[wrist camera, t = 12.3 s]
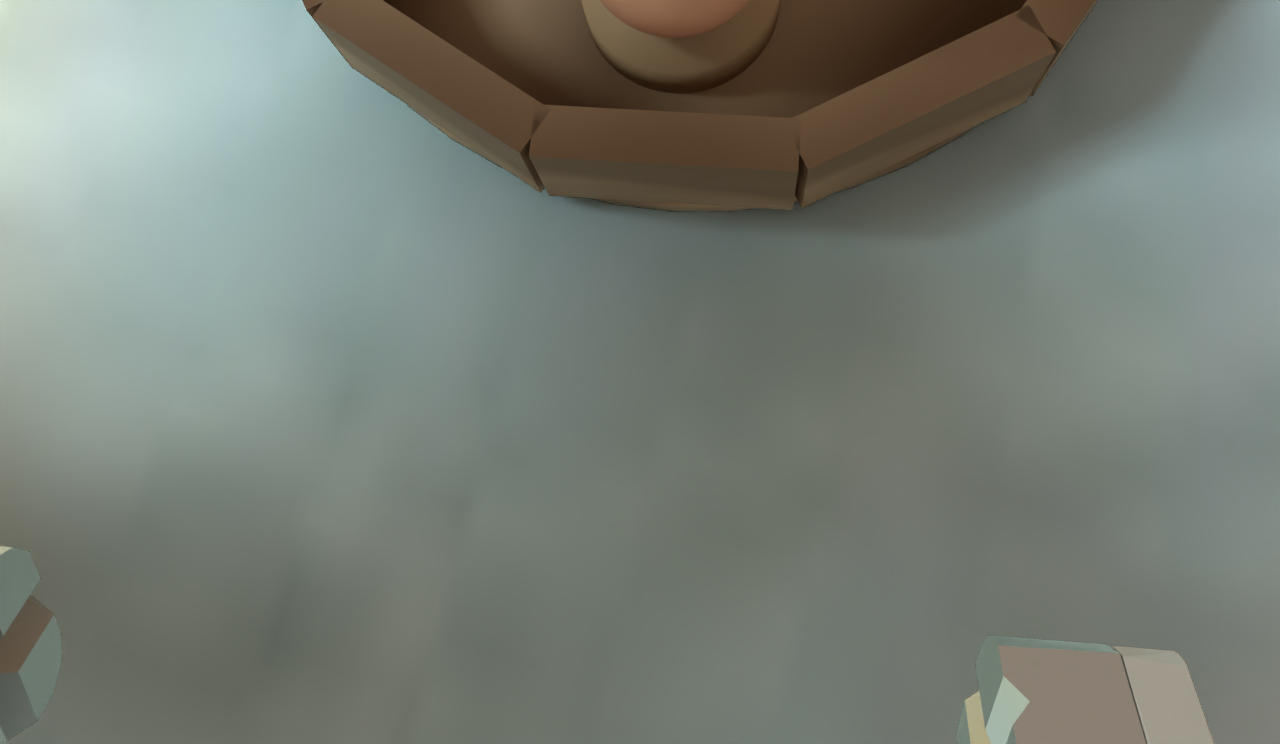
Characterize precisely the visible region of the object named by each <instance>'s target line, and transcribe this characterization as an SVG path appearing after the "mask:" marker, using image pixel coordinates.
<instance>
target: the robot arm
mask: <svg viewBox="0 0 1280 744" xmlns="http://www.w3.org/2000/svg"><path fill="white" fill-rule="evenodd" d="M40 579H41V578H40V575H39V573H38V571H37V568H36V566H35V564H34V561H33V559H32V557H31V554H30V552H29V551H26V550H22V549H18V548H13V547H5V546H0V744H7V741H8V740H9V739H11V738H12V737H14V736H15V735H17V734H18V733H20V732H21V731H23V730H24V729H26V728H27V727H29V726H30V725H32V724H33V723H35V722H36V721H38V719H39V717H40V715H41V714H42V712H43V710H44V708H45V707H46V705H47V703H48V701H49V699H50V698H51V696H52V694H53V692H54V689H55V685H56V681H57V677H58V673H59V669H60V665H61V661H62V646H61V633H60V630H59V627H58V624H57V621H56V618H55V616H54V614H53V613H52V612H51V611H49V610H48V609H47V608H46V607H45V606H43V605H42V604H41V603H40V602H39V601H37V600H36V599H35V598H34V597H33V596H31V595H30V594H31V593H32V591H33V590H34V588H35V587H36V585H37V584H38V582H39V581H40ZM975 667H976V673H977V680H978V686H979V691H978V692H976V693H975V694H973V695H972V696H970V697H969V698H967V699H966V700H965V701H964V705H963V709H962V713H961V716H960V720H959V724H958V730H957V741H956V744H1214V741H1213V738H1212V735H1211V732H1210V729H1209V727H1208V724H1207V721H1206V718H1205V715H1204V712H1203V710H1202V707H1201V704H1200V701H1199V698H1198V695H1197V693H1196V690H1195V687H1194V684H1193V681H1192V678H1191V676H1190V673H1189V670H1188V667H1187V664H1186V662H1185V660H1184V659H1183V658H1182V657H1181V656H1180V655H1179V654H1178V653H1177V652H1176V651H1169V650H1158V649H1146V648H1134V647H1123V646H1111V647H1109V646H1108V645H1106V644H1094V643H1081V642H1069V641H1056V640H1044V639H1031V638H1019V637H1006V636H994V635H989V636H988V637H987V638H986V640H985V641H984V642H983V644H982V645H981V649H980V652H979V655H978V658H977V661H976V664H975Z"/></svg>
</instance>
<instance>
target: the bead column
mask: <svg viewBox="0 0 1280 744" xmlns="http://www.w3.org/2000/svg"><path fill="white" fill-rule="evenodd" d="M581 1H582V5H583V9H584V13H585V16H586V20H587V23H588V27H589V30H590V33H591V36H592V38H593V40H594V43H595V45H596V46H597V48H598V50H599V51H600V53H601V54H602V56H603V57H604V58H605V60H606V61H607V62H608V63H609V64H610V65H611V66H612V67H613V68H614V69H615V70H616V71H617V72H619V73H620V74H621V75H623V76H624V77H625V78H627V79H629V80H630V81H632V82H634V83H636V84H638V85H640V86H643V87H646V88H648V89H651V90H656V91H660V92H666V93H693V92H700V91H704V90H708V89H711V88H714V87H717V86H719V85H722V84H724V83H726V82H728V81H730V80H731V79H733V78H735V77H737V76H738V75H739V74H741V73H742V72H743V71H745V70H746V69H747V68H748V67H749V66H750V65H751V64H752V63H753V62H754V61H755V60H756V59H757V58H758V57H759V56H760V54H761V53H762V52H763V51H764V49H765V47H766V46H767V44H768V42H769V41H770V39H771V36H772V34H773V32H774V30H775V26H776V23H777V19H778V15H779V8H780V0H581Z"/></svg>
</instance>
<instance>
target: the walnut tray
mask: <svg viewBox="0 0 1280 744" xmlns="http://www.w3.org/2000/svg"><path fill="white" fill-rule="evenodd" d="M302 1H303V3H304V5H305V8H306V10H307V11H308V12H309V14H310V15H311V16H312V18H313V19H314V20H315V21H316V23H317V24H318V25H319V27H320V28H321V29H322V30H323V32H324V33H325V34H326V36H327V37H328V38H329V39H330V41H331V42H332V43H333V44H334V46H335V47H336V48H337V50H338V51H339V52H340V53H341V55H342V56H343V57H344V59H345V60H346V61H347V62H348V63H349V64H350V66H351V67H352V68H353V69H355V70H356V71H358V72H359V73H361V74H362V75H364V76H365V77H367V78H368V79H370V80H371V81H373V82H374V83H376V84H377V85H379V86H380V87H382V88H384V89H385V90H387V91H388V92H390V93H391V94H393V95H394V96H396V97H397V98H399V99H400V100H402V101H403V102H405V103H406V104H407V105H408V106H409V107H410V108H412V109H413V110H414V111H416V112H417V113H418V114H419V115H421V116H422V117H423V118H425V119H426V120H427V121H429V122H430V123H431V124H432V125H434V126H435V127H436V128H438V129H439V130H440V131H442V132H443V133H444V134H446V135H447V136H448V137H449V138H451V139H452V140H454V141H456V142H457V143H459V144H461V145H463V146H464V147H466V148H468V149H470V150H471V151H473V152H475V153H477V154H478V155H480V156H482V157H484V158H485V159H487V160H489V161H491V162H492V163H494V164H496V165H498V166H500V167H501V168H504V169H506V170H507V171H509V172H510V173H512V174H513V175H515V176H516V177H518V178H519V179H521V180H522V181H524V182H525V183H527V184H528V185H530V186H531V187H533V188H534V189H536V190H537V191H539V192H540V193H541V192H542V190H543V189H544V187H545V188H546V190H547V192H548V194H549V196H566V197H582V198H591V199H595V200H599V201H603V202H606V203H610V204H617V205H625V206H633V207H641V208H649V209H657V210H665V211H738V210H745V209H753V208H764V209H781V210H793V204H794V203H796V202H799V204H800V206H801V208H804V207H806V206H808V205H810V204H812V203H814V202H816V201H818V200H820V199H823V198H825V197H827V196H829V195H831V194H833V193H835V192H838V191H842V190H846V189H850V188H853V187H856V186H858V185H861V184H863V183H866V182H868V181H871V180H873V179H876V178H878V177H881V176H883V175H886V174H888V173H891V172H893V171H896V170H898V169H901V168H903V167H906V166H908V165H910V164H912V163H914V162H916V161H918V160H919V159H921V158H923V157H925V156H927V155H928V154H930V153H932V152H934V151H936V150H937V149H939V148H941V147H943V146H945V145H946V144H948V143H950V142H952V141H954V140H955V139H957V138H959V137H961V136H962V135H964V134H965V133H967V132H968V131H969V130H971V129H972V128H973V127H975V126H976V125H978V124H980V123H982V122H984V121H987V120H989V119H991V118H993V117H995V116H997V115H999V114H1001V113H1003V112H1005V111H1008V110H1010V109H1012V108H1014V107H1016V106H1018V105H1020V104H1022V103H1024V102H1026V100H1027V98H1028V97H1029V95H1031V96H1033V94H1034V93H1035V91H1036V90H1037V88H1038V87H1039V86H1040V84H1041V83H1042V81H1043V80H1044V78H1045V77H1046V75H1047V74H1048V72H1049V71H1050V69H1051V68H1052V67H1053V65H1054V64H1055V62H1056V61H1057V59H1058V58H1059V56H1060V55H1061V53H1062V52H1063V50H1064V49H1065V47H1066V46H1067V45H1068V43H1069V42H1070V40H1071V39H1072V37H1073V36H1074V34H1075V33H1076V31H1077V30H1078V28H1079V27H1080V26H1081V24H1082V23H1083V21H1084V20H1085V18H1086V17H1087V16H1088V14H1089V13H1090V12H1091V10H1092V9H1093V7H1094V6H1095V4H1096V2H1097V1H1098V0H780V8H779V15H778V19H777V23H776V26H775V30H774V32H773V34H772V36H771V39H770V41H769V42H768V44H767V46H766V47H765V49H764V51H763V52H762V53H761V54H760V56H759V57H758V58H757V59H756V60H755V61H754V62H753V63H752V64H751V65H750V66H749V67H748V68H747V69H746V70H745V71H743V72H742V73H741V74H739V75H738V76H737V77H735V78H733V79H731V80H730V81H728V82H726V83H724V84H722V85H719V86H717V87H714V88H711V89H708V90H704V91H700V92H693V93H666V92H660V91H656V90H651V89H648V88H646V87H643V86H640V85H638V84H636V83H634V82H632V81H630V80H629V79H627V78H625V77H624V76H623V75H621V74H620V73H619V72H617V71H616V70H615V69H614V68H613V67H612V66H611V65H610V64H609V63H608V62H607V61H606V60H605V58H604V57H603V56H602V54H601V53H600V51H599V50H598V48H597V46H596V45H595V43H594V40H593V38H592V36H591V33H590V30H589V27H588V23H587V20H586V16H585V13H584V9H583V5H582V1H581V0H302Z"/></svg>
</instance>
